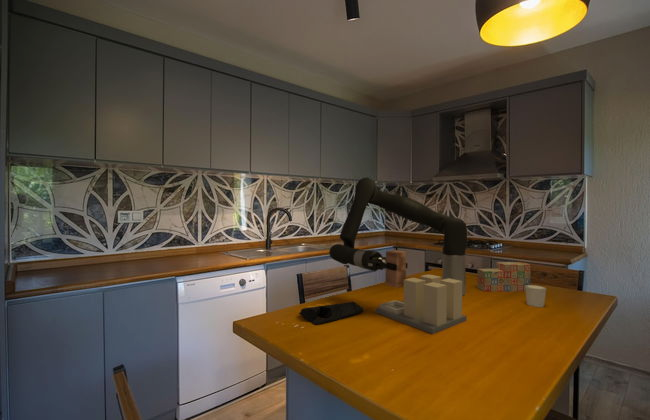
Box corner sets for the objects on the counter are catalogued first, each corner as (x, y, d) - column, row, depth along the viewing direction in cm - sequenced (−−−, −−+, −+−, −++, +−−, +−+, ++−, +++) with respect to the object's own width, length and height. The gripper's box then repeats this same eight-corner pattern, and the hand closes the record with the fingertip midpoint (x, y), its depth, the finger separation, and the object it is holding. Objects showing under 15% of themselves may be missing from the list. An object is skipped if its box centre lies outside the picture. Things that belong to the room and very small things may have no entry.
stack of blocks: (484, 292, 144) (484, 264, 144) (477, 288, 150) (477, 262, 150) (530, 291, 145) (531, 264, 145) (521, 287, 151) (522, 261, 151)
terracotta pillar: (394, 282, 119) (395, 250, 119) (405, 285, 115) (406, 251, 115) (385, 284, 116) (385, 251, 116) (396, 287, 112) (396, 253, 112)
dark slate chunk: (369, 317, 113) (369, 303, 113) (312, 327, 103) (312, 313, 103) (347, 305, 127) (347, 293, 127) (295, 313, 117) (295, 300, 117)
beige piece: (527, 306, 123) (527, 288, 123) (523, 301, 130) (523, 284, 130) (548, 308, 121) (548, 289, 121) (543, 303, 127) (543, 285, 127)
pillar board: (409, 302, 128) (409, 269, 127) (466, 320, 108) (466, 280, 108) (375, 312, 116) (375, 275, 116) (432, 334, 97) (432, 289, 97)
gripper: (354, 251, 122) (388, 258, 109) (380, 248, 131) (414, 254, 117) (354, 271, 123) (387, 280, 109) (380, 267, 131) (414, 274, 117)
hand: (401, 266), depth 113 cm, fingers closed on terracotta pillar, 5 cm apart
